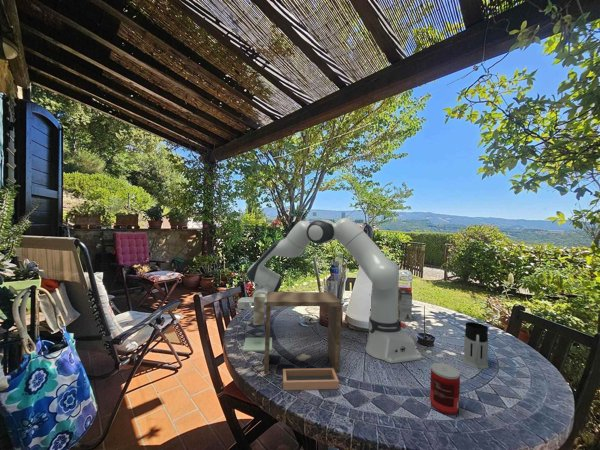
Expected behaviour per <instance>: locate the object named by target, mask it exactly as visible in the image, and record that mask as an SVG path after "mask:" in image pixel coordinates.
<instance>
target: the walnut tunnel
mask: <svg viewBox="0 0 600 450" xmlns="http://www.w3.org/2000/svg"><path fill="white" fill-rule="evenodd" d="M271 306H282V307H328V328H327V330H328V331H327V333H328V334H327V356H328V357H327V358H328V359H329V360H330V364H331V366H332V368H334V370H335V373H336V374H338V373H340V360H341V359H340V358H341V353H340V352H341V329H342V327H341V325H342V301H341V299H339V297H338V296H337V295H336V294H335V293H334V292H332V291H331V292H325V291H324V292H320V291H318V292H317V291H312V292H311V291H307V292H306V291H278V292H268V293H267V302H266V311H265V331H264V332H265V335H264V338H265V351H264V365H263V366H264V367H263V369H264V370H263V375H269V370H270V368H269V367H270V351H269V345H270V338H271V315H272V314H271V313H272V309H271Z"/></svg>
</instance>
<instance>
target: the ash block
mask: <svg viewBox="0 0 600 450" xmlns="http://www.w3.org/2000/svg"><path fill="white" fill-rule="evenodd" d="M264 306H265V294H255V296H254V311H253V319H252V325H253V326H264V325H265V311H264Z"/></svg>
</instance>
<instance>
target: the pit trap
mask: <svg viewBox="0 0 600 450" xmlns="http://www.w3.org/2000/svg"><path fill="white" fill-rule="evenodd" d="M282 387H283V388H282V390H283V391H305V390H306V391H309V390H310V391H311V390H339V387H340V380H339V378H338V376H337V373H335V370H334V368H333V367H325V368H324V367H321V368H319V367H316V368H315V367H314V368H312V367H311V368H282Z"/></svg>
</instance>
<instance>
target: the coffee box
mask: <svg viewBox="0 0 600 450" xmlns="http://www.w3.org/2000/svg"><path fill="white" fill-rule="evenodd" d="M412 308H413V294H412V291H411V290H408V289H407V290H406V289H398V314H397V318H398V320H399V321H401V322H405V323H406V322H407V323H412V310H413V309H412Z"/></svg>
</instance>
